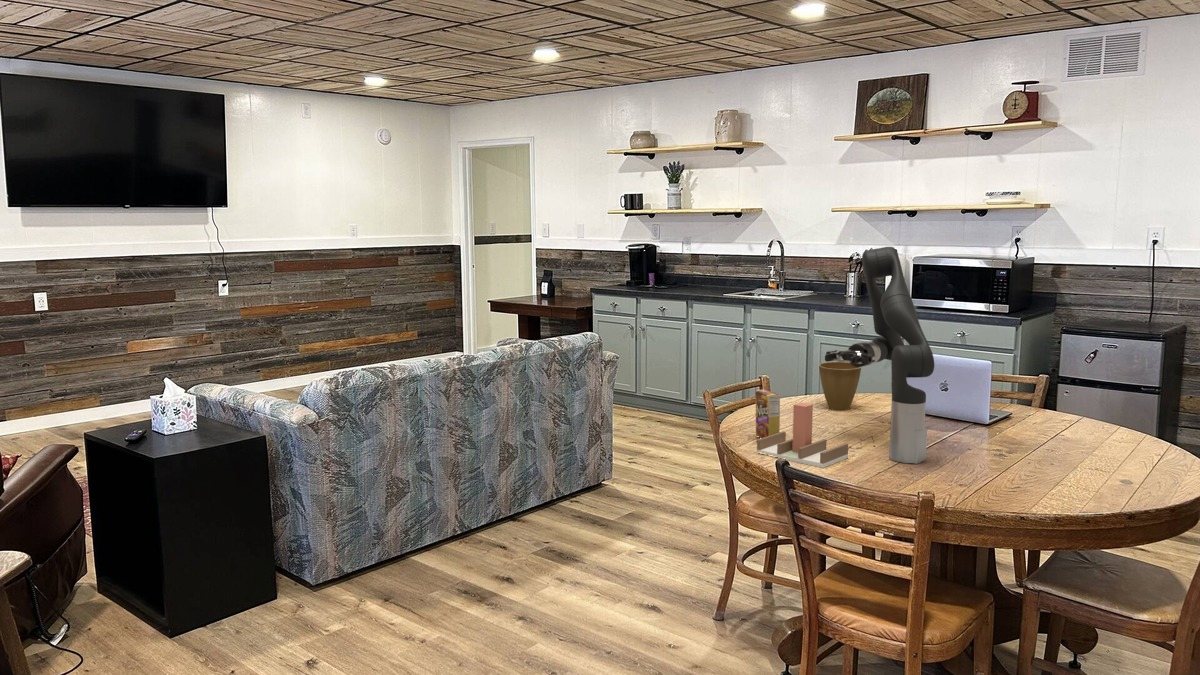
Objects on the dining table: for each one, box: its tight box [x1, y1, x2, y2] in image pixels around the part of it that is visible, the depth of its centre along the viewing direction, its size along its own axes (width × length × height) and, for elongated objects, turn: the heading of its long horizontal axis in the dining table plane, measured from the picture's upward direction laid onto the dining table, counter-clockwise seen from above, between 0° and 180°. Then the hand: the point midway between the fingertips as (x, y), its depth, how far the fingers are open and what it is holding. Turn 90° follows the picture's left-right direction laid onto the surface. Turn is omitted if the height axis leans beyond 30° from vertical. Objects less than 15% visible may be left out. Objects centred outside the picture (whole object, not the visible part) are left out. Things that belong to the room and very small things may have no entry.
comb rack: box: [756, 430, 849, 469], centre depth 257 cm, size 22×14×4 cm, turn 46°
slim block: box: [792, 402, 814, 453], centre depth 256 cm, size 4×4×14 cm
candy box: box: [755, 388, 781, 439], centre depth 275 cm, size 9×4×15 cm, turn 17°
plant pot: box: [818, 361, 862, 411], centre depth 319 cm, size 15×15×16 cm
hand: (838, 359), depth 268 cm, fingers open, 8 cm apart
